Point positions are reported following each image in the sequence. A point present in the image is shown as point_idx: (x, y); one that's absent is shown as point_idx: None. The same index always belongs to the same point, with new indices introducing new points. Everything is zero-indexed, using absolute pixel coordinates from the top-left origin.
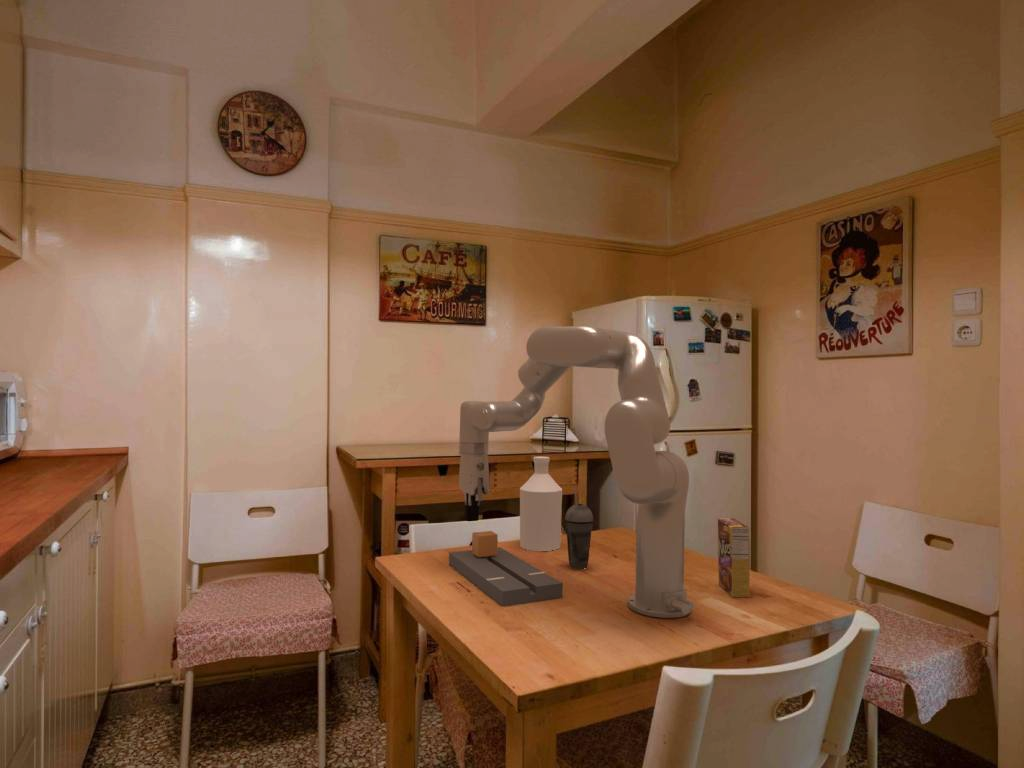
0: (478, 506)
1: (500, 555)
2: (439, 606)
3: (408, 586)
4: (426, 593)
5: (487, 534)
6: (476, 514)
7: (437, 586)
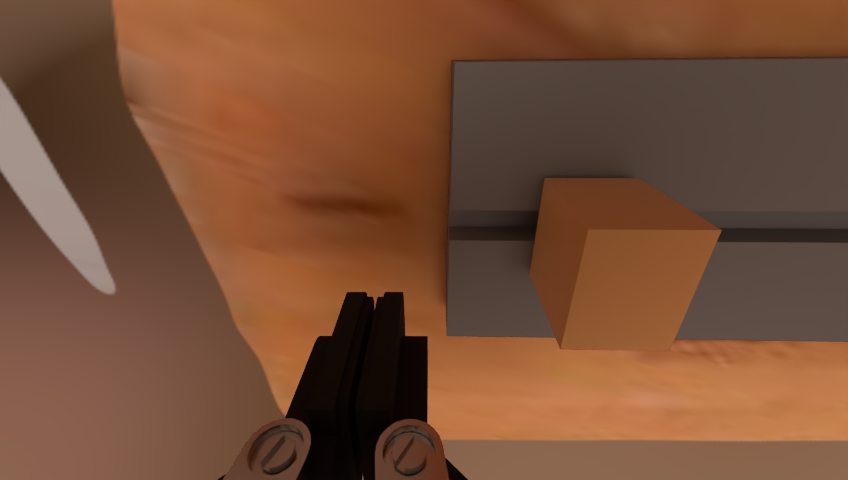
0: (392, 399)
1: (623, 146)
2: (790, 425)
3: (594, 439)
4: (678, 423)
5: (667, 290)
6: (425, 355)
7: (645, 390)
